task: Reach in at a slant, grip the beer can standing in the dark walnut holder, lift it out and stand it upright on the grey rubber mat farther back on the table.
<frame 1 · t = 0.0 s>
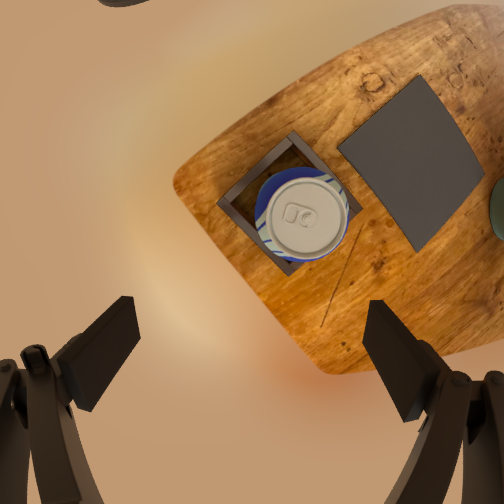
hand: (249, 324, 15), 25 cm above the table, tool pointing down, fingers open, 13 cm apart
can holder: (288, 202, 37), on the table
beer can: (288, 201, 38), resting in can holder
rubber mat: (423, 160, 35), on the table
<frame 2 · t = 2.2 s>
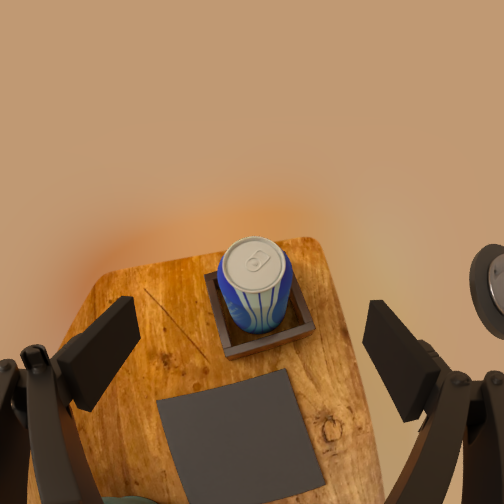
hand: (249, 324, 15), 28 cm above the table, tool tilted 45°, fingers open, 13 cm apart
can holder: (258, 309, 43), on the table
beer can: (258, 310, 44), resting in can holder
rubber mat: (238, 448, 33), on the table
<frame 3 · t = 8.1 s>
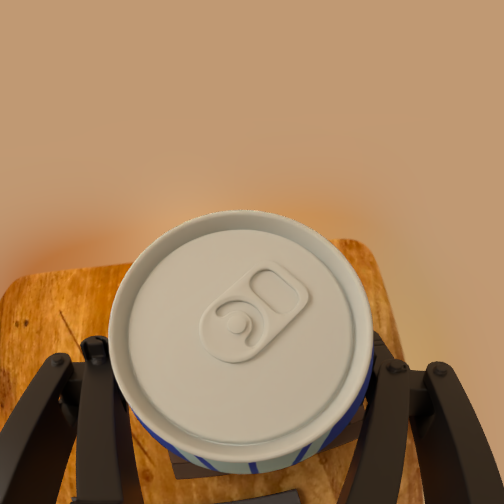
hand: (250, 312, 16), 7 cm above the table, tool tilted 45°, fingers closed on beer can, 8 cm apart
can holder: (252, 378, 20), on the table
beer can: (252, 379, 20), resting in can holder, touching gripper
when the fingers open (7 cm above the table, at t = 19.4 s): beer can stays where it is, resting on rubber mat.
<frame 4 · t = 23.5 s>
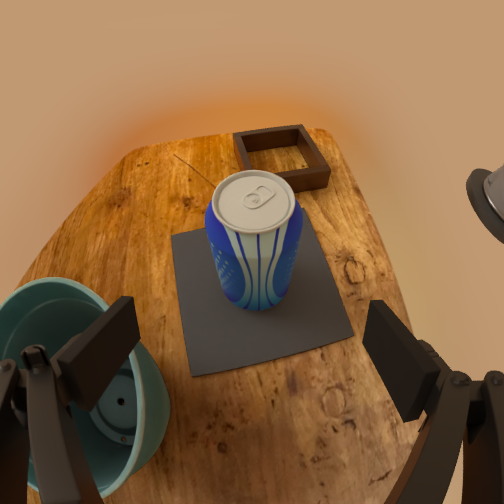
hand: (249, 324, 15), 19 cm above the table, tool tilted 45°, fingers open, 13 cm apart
can holder: (278, 167, 47), on the table
beer can: (255, 283, 36), resting on rubber mat
flower pot: (128, 402, 28), on the table
rubber mat: (255, 284, 36), on the table
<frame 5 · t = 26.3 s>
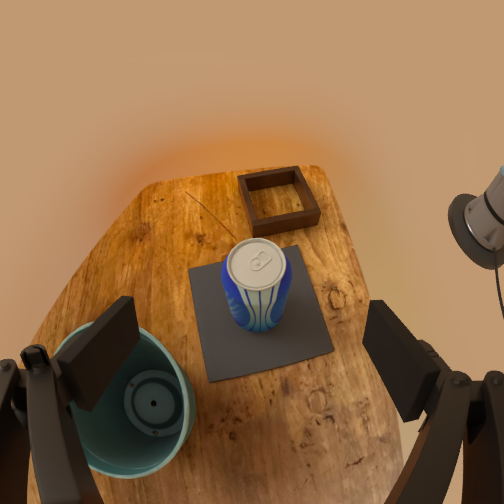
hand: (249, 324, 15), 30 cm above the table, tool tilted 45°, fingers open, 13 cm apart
can holder: (276, 205, 56), on the table
beer can: (257, 309, 45), resting on rubber mat
flower pot: (158, 403, 38), on the table
rubber mat: (257, 310, 46), on the table
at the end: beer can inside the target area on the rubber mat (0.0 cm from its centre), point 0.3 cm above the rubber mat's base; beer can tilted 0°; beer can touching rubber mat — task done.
